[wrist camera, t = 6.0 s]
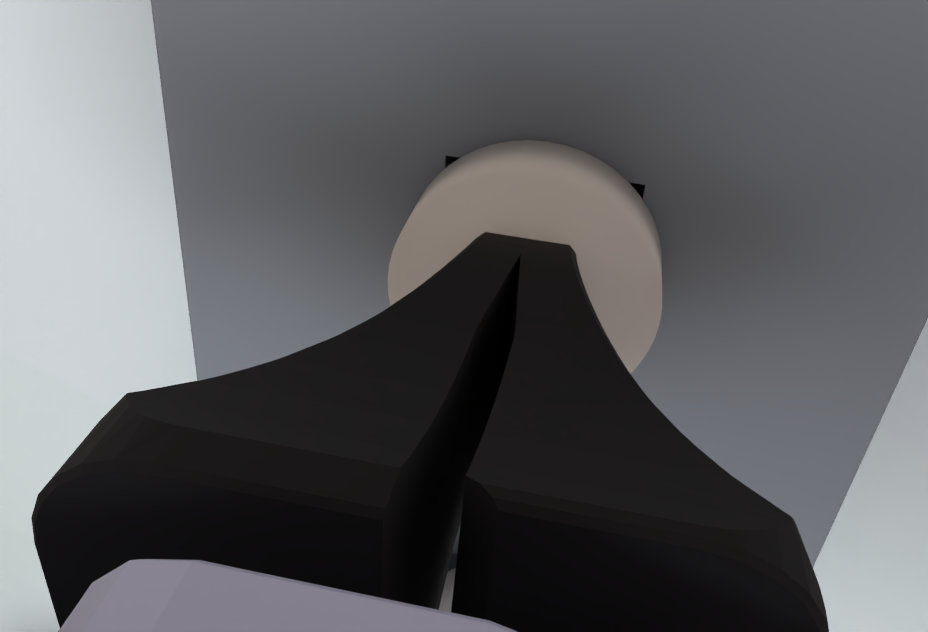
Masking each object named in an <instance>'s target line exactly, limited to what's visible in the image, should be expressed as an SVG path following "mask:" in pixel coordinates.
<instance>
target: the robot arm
mask: <svg viewBox="0 0 928 632" xmlns="http://www.w3.org/2000/svg"><path fill="white" fill-rule="evenodd" d="M460 523H461V524H460ZM32 525H33V533H34V541H35V546H36V549H37V552H38V556H39V559H40V562H41V566H42V569H43V572H44V576H45V579H46V583H47V586H48V589H49V593H50V596H51V599H52V603H53V606H54V609H55V613H56V616H57V619H58V623H59V626H60V630H59V631H58V632H829V629H828V622H827V616H826V610H825V606H824V602H823V598H822V594H821V590H820V587H819V584H818V581H817V578H816V576H815V573H814V570H813V567H812V565H811V562H810V559H809V557H808V554H807V551H806V549H805V546H804V543H803V541H802V538H801V536H800V533H799V530H798V528H797V525H796V523H795V521H794V519H793V518H792V517H791V516H790V515H788V514H787V513H785V512H784V511H782V510H781V509H779V508H778V507H776V506H775V505H774V504H772V503H771V502H769V501H768V500H766V499H765V498H763V497H762V496H760V495H759V494H757V493H756V492H755V491H753V490H752V489H750V488H749V487H747V486H746V485H744V484H743V483H741V482H740V481H738V480H737V479H736V478H734V477H733V476H732V475H730V474H729V473H728V472H726V471H725V470H724V469H723V468H722V467H720V466H719V465H718V464H717V463H716V462H714V461H713V460H712V459H711V458H710V457H708V456H707V455H706V454H705V453H703V452H702V451H701V450H700V449H699V448H698V447H696V446H695V445H694V444H693V443H692V442H691V441H690V440H689V439H688V438H687V437H686V436H684V435H683V434H682V433H681V432H680V431H679V430H678V429H677V428H676V427H675V426H674V425H673V424H672V423H671V422H670V420H669V419H668V418H667V417H666V416H665V415H664V414H663V413H662V412H661V411H660V410H659V409H658V408H657V407H656V406H655V405H654V404H653V402H652V401H651V400H650V399H649V398H648V397H647V395H646V394H645V393H644V392H643V390H642V389H641V388H640V386H639V385H638V384H637V382H636V381H635V380H634V378H633V377H632V375H631V374H630V372H629V371H628V369H627V368H626V367H625V365H624V363H623V362H622V360H621V359H620V357H619V356H618V354H617V352H616V350H615V349H614V347H613V345H612V344H611V342H610V340H609V338H608V337H607V335H606V333H605V331H604V329H603V327H602V325H601V323H600V321H599V319H598V317H597V315H596V312H595V310H594V308H593V306H592V304H591V301H590V299H589V297H588V294H587V292H586V289H585V286H584V283H583V281H582V278H581V275H580V271H579V268H578V264H577V258H576V253H575V251H574V250H573V249H572V247H571V246H570V245H567V244H560V243H553V242H547V241H540V240H533V239H527V238H521V237H514V236H508V235H502V234H495V233H489V232H484V233H483V234H481V235H480V236H478V237H477V238H476V239H475V240H474V241H472V242H471V243H470V244H469V245H468V246H467V247H466V248H465V249H464V250H463V251H461V252H460V253H459V254H458V255H457V256H456V257H455V258H453V259H452V260H451V261H450V262H449V263H448V264H446V265H445V266H444V267H443V268H442V269H440V270H439V271H438V272H436V273H435V274H434V275H433V276H431V277H430V278H429V279H428V280H426V281H425V282H424V283H423V284H421V285H420V286H419V287H417V288H416V289H415V290H413V291H412V292H410V293H409V294H407V295H406V296H404V297H403V298H401V299H400V300H399V301H397V302H396V303H394V304H393V305H391V306H390V307H388V308H387V309H385V310H384V311H382V312H381V313H379V314H377V315H375V316H374V317H372V318H370V319H368V320H367V321H365V322H363V323H361V324H359V325H357V326H355V327H353V328H351V329H349V330H347V331H345V332H343V333H341V334H339V335H337V336H335V337H332V338H330V339H328V340H325V341H323V342H320V343H318V344H315V345H313V346H310V347H308V348H305V349H303V350H300V351H297V352H295V353H292V354H290V355H287V356H285V357H282V358H279V359H276V360H273V361H270V362H267V363H264V364H260V365H257V366H254V367H251V368H247V369H243V370H240V371H236V372H232V373H229V374H225V375H221V376H217V377H213V378H208V379H204V380H199V381H194V382H189V383H183V384H178V385H172V386H167V387H162V388H156V389H151V390H145V391H139V392H132V393H127V394H126V395H125V396H124V397H123V398H122V399H121V400H120V401H119V402H118V403H117V404H116V405H115V406H114V407H113V408H112V409H111V410H110V411H109V412H108V413H107V414H106V415H105V416H104V417H103V418H102V419H101V420H100V421H99V422H98V424H97V425H96V426H95V427H94V428H93V430H92V431H91V432H90V433H89V435H88V436H87V437H86V438H85V439H84V441H83V442H82V443H81V444H80V445H79V447H78V448H77V449H76V450H75V451H74V453H73V454H72V455H71V456H70V457H69V458H68V460H67V461H66V462H65V463H64V464H63V466H62V467H61V468H60V469H59V470H58V472H57V473H56V474H55V475H54V476H53V478H52V479H51V480H50V481H49V482H48V484H47V485H46V486H45V487H44V488H43V490H42V491H41V492H40V493H39V494H38V497H37V501H36V504H35V508H34V511H33V515H32ZM459 526H460V534H459V543H458V552H457V561H456V570H455V579H454V589H453V598H452V607H451V612H446V611H441V610H439V606H440V602H441V598H442V593H443V589H444V585H445V580H446V576H447V572H448V567H449V563H450V559H451V554H452V550H453V547H454V543H455V540H456V537H457V533H458V530H459Z"/></svg>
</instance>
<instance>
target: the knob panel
mask: <svg viewBox="0 0 928 632" xmlns="http://www.w3.org/2000/svg"><path fill="white" fill-rule="evenodd" d="M151 5H152V14H153V22H154V30H155V38H156V46H157V54H158V63H159V71H160V79H161V87H162V95H163V103H164V112H165V120H166V128H167V136H168V144H169V152H170V160H171V169H172V177H173V185H174V193H175V201H176V209H177V218H178V226H179V234H180V242H181V250H182V258H183V267H184V275H185V283H186V291H187V299H188V307H189V316H190V324H191V332H192V340H193V348H194V356H195V364H196V373H197V381H199V380H204V379H208V378H213V377H217V376H221V375H225V374H229V373H232V372H236V371H240V370H243V369H247V368H251V367H254V366H257V365H260V364H264V363H267V362H270V361H273V360H276V359H279V358H282V357H285V356H287V355H290V354H292V353H295V352H297V351H300V350H303V349H305V348H308V347H310V346H313V345H315V344H318V343H320V342H323V341H325V340H328V339H330V338H332V337H335V336H337V335H339V334H341V333H343V332H345V331H347V330H349V329H351V328H353V327H355V326H357V325H359V324H361V323H363V322H365V321H367V320H368V319H370V318H372V317H374V316H375V315H377V314H379V313H381V312H382V311H384V310H385V309H387V308H388V307H390V301H389V295H388V271H389V263H390V259H391V256H392V252H393V249H394V246H395V244H396V242H397V240H398V237H399V235H400V233H401V231H402V230H403V228H404V226H405V224H406V222H407V220H408V219H409V217H410V215H411V213H412V211H413V209H414V208H415V206H416V204H417V202H418V200H419V199H420V197H421V196H422V194H423V192H424V191H425V189H426V188H427V186H428V185H429V184H430V183H431V182H432V181H433V179H434V178H435V177H436V176H437V175H438V174H439V173H440V172H442V171H443V170H444V169H445V168H446V167H447V166H448V165H450V164H451V163H453V162H454V161H456V160H458V159H459V158H461V157H462V156H464V155H466V154H468V153H471V152H473V151H475V150H477V149H480V148H483V147H486V146H489V145H493V144H497V143H502V142H508V141H520V140H535V141H548V142H552V143H557V144H562V145H566V146H569V147H572V148H575V149H578V150H581V151H584V152H586V153H588V154H590V155H592V156H594V157H596V158H598V159H600V160H601V161H603V162H604V163H606V164H607V165H609V166H610V167H612V168H613V169H615V170H616V171H617V172H618V173H619V174H620V175H621V176H623V177H624V178H625V179H626V180H627V181H628V182H629V183H630V184H631V185H632V186H633V188H634V189H635V190H636V191H637V192H638V193H639V195H640V196H641V198H642V199H643V201H644V202H645V204H646V205H647V207H648V209H649V211H650V213H651V215H652V217H653V220H654V222H655V225H656V228H657V231H658V235H659V239H660V246H661V255H662V313H661V318H660V324H659V327H658V330H657V333H656V336H655V339H654V341H653V343H652V345H651V347H650V349H649V351H648V353H647V354H646V356H645V357H644V358H643V360H642V361H641V363H640V364H639V365H638V366H637V367H636V368H635V369H634V371H633V372H632V373H631V375H632V377H633V378H634V380H635V381H636V382H637V384H638V385H639V386H640V388H641V389H642V390H643V392H644V393H645V394H646V395H647V397H648V398H649V399H650V400H651V401H652V402H653V404H654V405H655V406H656V407H657V408H658V409H659V410H660V411H661V412H662V413H663V414H664V415H665V416H666V417H667V418H668V419H669V420H670V422H671V423H672V424H673V425H674V426H675V427H676V428H677V429H678V430H679V431H680V432H681V433H682V434H683V435H684V436H686V437H687V438H688V439H689V440H690V441H691V442H692V443H693V444H694V445H695V446H696V447H698V448H699V449H700V450H701V451H702V452H703V453H705V454H706V455H707V456H708V457H710V458H711V459H712V460H713V461H714V462H716V463H717V464H718V465H719V466H720V467H722V468H723V469H724V470H725V471H726V472H728V473H729V474H730V475H732V476H733V477H734V478H736V479H737V480H738V481H740V482H741V483H743V484H744V485H746V486H747V487H749V488H750V489H752V490H753V491H755V492H756V493H757V494H759V495H760V496H762V497H763V498H765V499H766V500H768V501H769V502H771V503H772V504H774V505H775V506H776V507H778V508H779V509H781V510H782V511H784V512H785V513H787V514H788V515H790V516H791V517H792V518H793V519H794V521H795V523H796V525H797V528H798V530H799V533H800V536H801V538H802V541H803V543H804V546H805V549H806V551H807V554H808V557H809V559H810V562H811V565H812V567H813V566H814V564H815V561H816V559H817V557H818V555H819V553H820V551H821V548H822V546H823V544H824V542H825V540H826V538H827V535H828V533H829V531H830V529H831V527H832V525H833V522H834V520H835V518H836V516H837V514H838V512H839V509H840V507H841V505H842V503H843V501H844V498H845V496H846V494H847V492H848V490H849V488H850V485H851V483H852V481H853V479H854V477H855V475H856V472H857V470H858V468H859V466H860V464H861V462H862V459H863V457H864V455H865V453H866V451H867V448H868V446H869V444H870V442H871V440H872V438H873V435H874V433H875V431H876V429H877V427H878V425H879V422H880V420H881V418H882V416H883V414H884V412H885V409H886V407H887V405H888V403H889V401H890V398H891V396H892V394H893V392H894V390H895V388H896V385H897V383H898V381H899V379H900V377H901V375H902V372H903V370H904V368H905V366H906V364H907V362H908V359H909V357H910V355H911V353H912V351H913V348H914V346H915V344H916V342H917V340H918V338H919V335H920V333H921V331H922V329H923V327H924V325H925V322H926V320H927V318H928V0H151ZM460 524H461V523H460ZM459 534H460V526H459V530H458V533H457V537H456V540H455V543H454V547H453V550H452V554H451V559H450V563H449V567H448V571H450V570H452V569H455V568H456V561H457V552H458V543H459Z"/></svg>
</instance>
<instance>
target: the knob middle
mask: <svg viewBox="0 0 928 632" xmlns="http://www.w3.org/2000/svg"><path fill="white" fill-rule="evenodd" d="M484 232H489V233H495V234H502V235H508V236H514V237H521V238H527V239H533V240H540V241H547V242H553V243H560V244H567V245H570V246H571V247H572V249H573V250H574V251H575V253H576V258H577V264H578V268H579V271H580V275H581V278H582V281H583V283H584V286H585V289H586V292H587V294H588V297H589V299H590V301H591V304H592V306H593V308H594V310H595V312H596V315H597V317H598V319H599V321H600V323H601V325H602V327H603V329H604V331H605V333H606V335H607V337H608V338H609V340H610V342H611V344H612V345H613V347H614V349H615V350H616V352H617V354H618V356H619V357H620V359H621V360H622V362H623V363H624V365H625V367H626V368H627V369H628V371H629V372H630V374H631V373H632V372H633V371H634V369H635V368H636V367H637V366H638V365H639V364H640V363H641V361H642V360H643V358H644V357H645V356H646V354H647V353H648V351H649V349H650V347H651V345H652V343H653V341H654V339H655V336H656V333H657V330H658V327H659V324H660V318H661V313H662V255H661V246H660V239H659V235H658V231H657V228H656V225H655V222H654V220H653V217H652V215H651V213H650V211H649V209H648V207H647V205H646V204H645V202H644V201H643V199H642V198H641V196H640V195H639V193H638V192H637V191H636V190H635V189H634V188H633V186H632V185H631V184H630V183H629V182H628V181H627V180H626V179H625V178H624V177H623V176H621V175H620V174H619V173H618V172H617V171H616V170H615V169H613V168H612V167H610V166H609V165H607V164H606V163H604V162H603V161H601V160H600V159H598V158H596V157H594V156H592V155H590V154H588V153H586V152H584V151H581V150H578V149H575V148H572V147H569V146H566V145H562V144H557V143H552V142H548V141H535V140H520V141H508V142H502V143H497V144H493V145H489V146H486V147H483V148H480V149H477V150H475V151H473V152H471V153H468V154H466V155H464V156H462V157H461V158H459V159H458V160H456V161H454V162H453V163H451V164H450V165H448V166H447V167H446V168H445V169H444V170H443V171H442V172H440V173H439V174H438V175H437V176H436V177H435V178H434V179H433V181H432V182H431V183H430V184H429V185H428V186H427V188H426V189H425V191H424V192H423V194H422V196H421V197H420V199H419V200H418V202H417V204H416V206H415V208H414V209H413V211H412V213H411V215H410V217H409V219H408V220H407V222H406V224H405V226H404V228H403V230H402V231H401V233H400V235H399V237H398V240H397V242H396V244H395V246H394V249H393V252H392V256H391V259H390V263H389V271H388V295H389V301H390V306H391V305H393V304H394V303H396V302H397V301H399V300H400V299H401V298H403V297H404V296H406V295H407V294H409V293H410V292H412V291H413V290H415V289H416V288H417V287H419V286H420V285H421V284H423V283H424V282H425V281H426V280H428V279H429V278H430V277H431V276H433V275H434V274H435V273H436V272H438V271H439V270H440V269H442V268H443V267H444V266H445V265H446V264H448V263H449V262H450V261H451V260H452V259H453V258H455V257H456V256H457V255H458V254H459V253H460V252H461V251H463V250H464V249H465V248H466V247H467V246H468V245H469V244H470V243H471V242H472V241H474V240H475V239H476V238H477V237H478V236H480V235H481V234H483V233H484Z"/></svg>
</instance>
